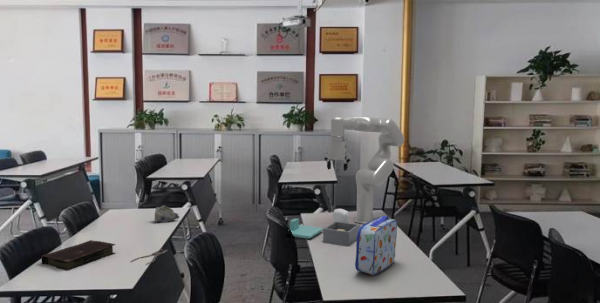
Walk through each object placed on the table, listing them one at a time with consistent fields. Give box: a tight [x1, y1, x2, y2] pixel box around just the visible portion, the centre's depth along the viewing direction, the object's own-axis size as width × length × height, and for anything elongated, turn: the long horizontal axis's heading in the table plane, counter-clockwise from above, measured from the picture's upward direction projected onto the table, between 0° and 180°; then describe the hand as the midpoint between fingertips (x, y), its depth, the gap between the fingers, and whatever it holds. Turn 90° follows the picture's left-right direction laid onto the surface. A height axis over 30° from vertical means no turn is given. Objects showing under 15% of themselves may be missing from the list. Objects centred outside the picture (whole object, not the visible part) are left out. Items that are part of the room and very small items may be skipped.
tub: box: [322, 221, 361, 247], centre depth 235 cm, size 16×14×7 cm
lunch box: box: [354, 215, 398, 276], centre depth 196 cm, size 28×10×22 cm, turn 148°
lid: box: [289, 218, 325, 240], centre depth 245 cm, size 17×15×8 cm
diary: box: [41, 239, 116, 271], centre depth 206 cm, size 19×25×5 cm
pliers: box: [130, 248, 168, 266], centre depth 209 cm, size 10×1×20 cm
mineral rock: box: [154, 205, 180, 224], centre depth 269 cm, size 13×11×10 cm
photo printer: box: [333, 208, 351, 223], centre depth 251 cm, size 10×4×12 cm, turn 39°
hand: (337, 169), depth 255 cm, fingers open, 9 cm apart
